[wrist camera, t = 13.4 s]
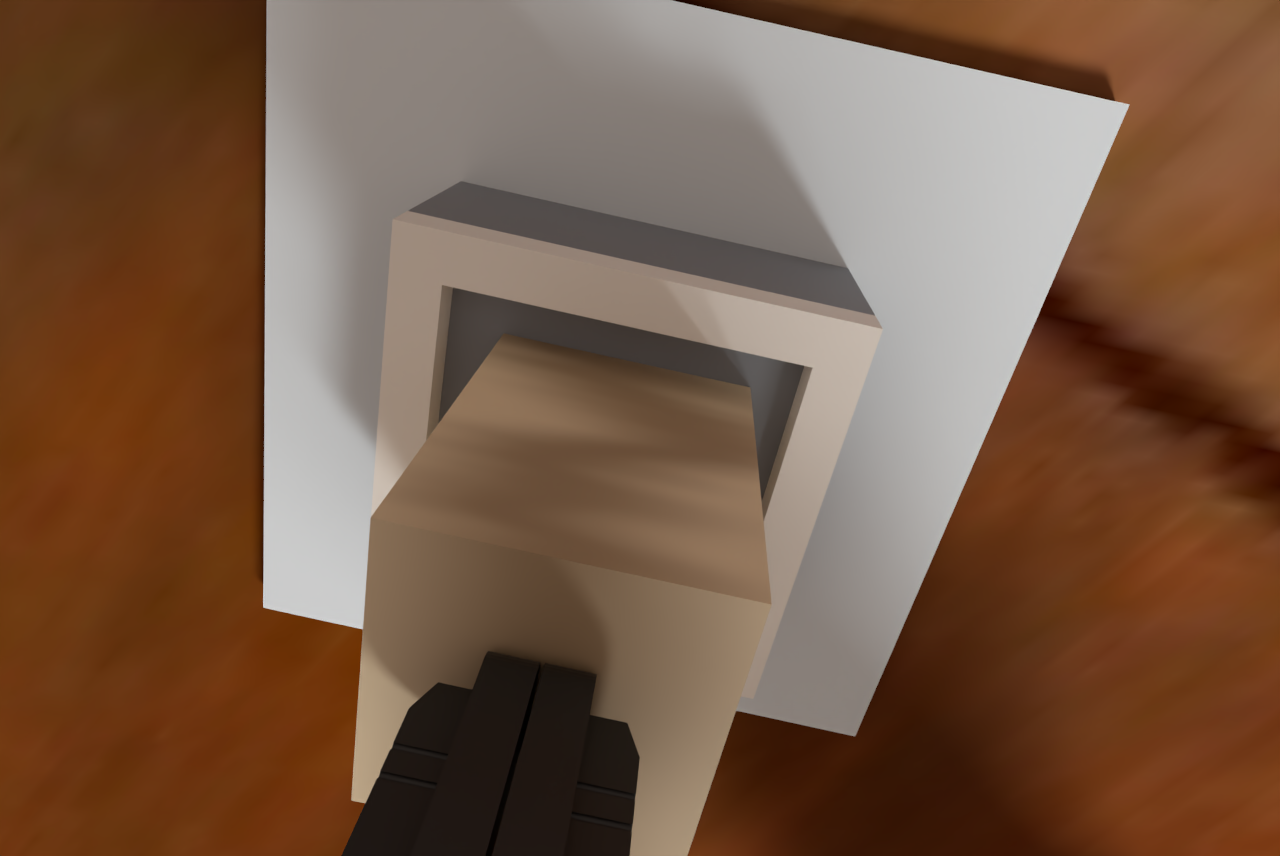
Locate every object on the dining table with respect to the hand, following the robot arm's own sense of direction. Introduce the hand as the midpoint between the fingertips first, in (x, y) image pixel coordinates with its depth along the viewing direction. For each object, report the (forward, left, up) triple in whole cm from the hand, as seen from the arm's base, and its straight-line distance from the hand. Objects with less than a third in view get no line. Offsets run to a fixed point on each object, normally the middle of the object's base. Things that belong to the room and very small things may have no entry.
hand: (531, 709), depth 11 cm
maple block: (0, 0, -7) cm, 7 cm away
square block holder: (0, 0, -11) cm, 11 cm away
